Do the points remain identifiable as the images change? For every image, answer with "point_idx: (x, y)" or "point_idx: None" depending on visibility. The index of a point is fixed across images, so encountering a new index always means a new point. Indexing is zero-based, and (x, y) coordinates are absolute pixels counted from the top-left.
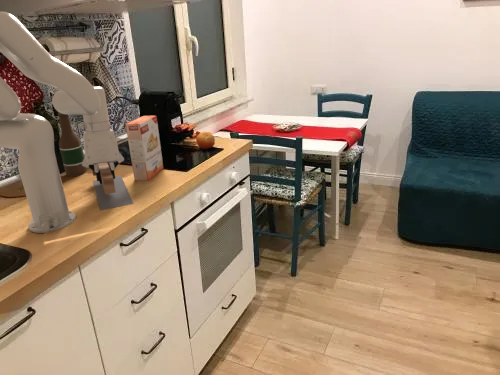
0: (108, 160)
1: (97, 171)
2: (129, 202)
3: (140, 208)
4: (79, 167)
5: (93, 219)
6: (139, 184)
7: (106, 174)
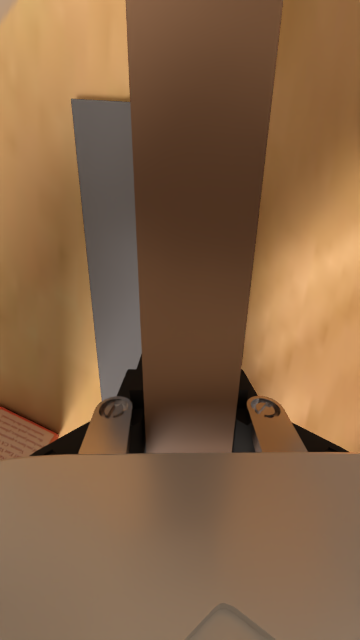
0: (116, 470)
1: (255, 406)
2: (93, 133)
3: (38, 10)
4: None
5: (300, 17)
6: (40, 387)
7: (201, 177)
